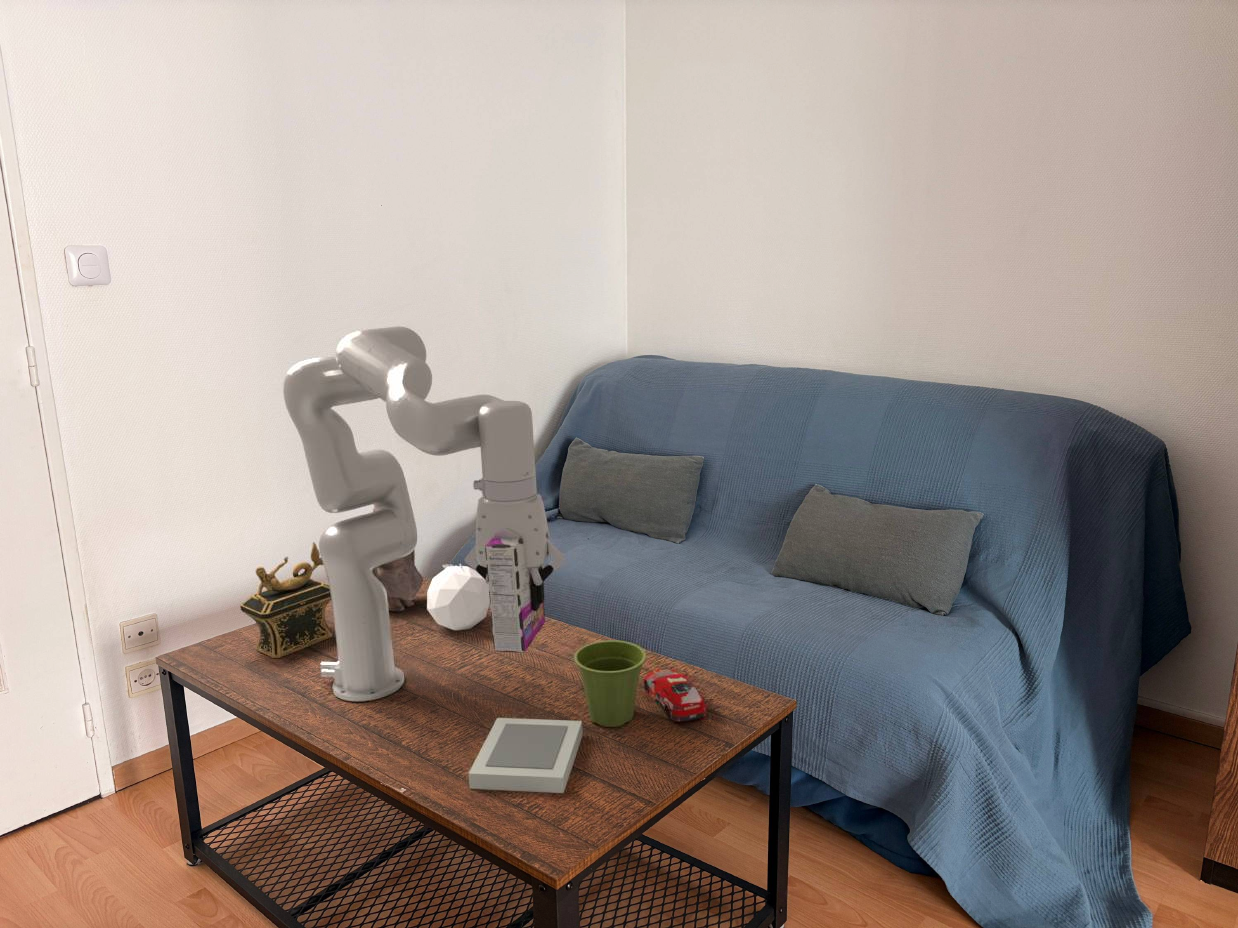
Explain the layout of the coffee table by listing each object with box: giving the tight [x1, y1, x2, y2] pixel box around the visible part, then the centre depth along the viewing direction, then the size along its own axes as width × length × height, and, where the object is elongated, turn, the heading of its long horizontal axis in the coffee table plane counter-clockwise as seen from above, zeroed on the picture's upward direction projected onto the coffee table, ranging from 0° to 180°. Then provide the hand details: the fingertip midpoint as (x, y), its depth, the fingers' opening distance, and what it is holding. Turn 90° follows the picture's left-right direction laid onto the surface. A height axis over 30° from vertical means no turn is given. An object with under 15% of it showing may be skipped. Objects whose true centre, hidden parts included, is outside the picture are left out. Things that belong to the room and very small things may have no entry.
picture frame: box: [468, 717, 584, 794], centre depth 140 cm, size 14×16×3 cm
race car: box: [643, 668, 707, 723], centre depth 156 cm, size 16×7×5 cm, turn 18°
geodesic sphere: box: [426, 563, 490, 631], centre depth 190 cm, size 14×14×14 cm
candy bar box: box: [485, 538, 546, 654], centre depth 134 cm, size 11×5×16 cm, turn 168°
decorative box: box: [239, 541, 334, 659], centre depth 185 cm, size 20×10×20 cm, turn 140°
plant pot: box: [573, 639, 647, 728], centre depth 151 cm, size 12×12×11 cm
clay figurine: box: [372, 506, 424, 613], centre depth 199 cm, size 13×10×25 cm
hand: (517, 605), depth 134 cm, fingers closed on candy bar box, 5 cm apart
